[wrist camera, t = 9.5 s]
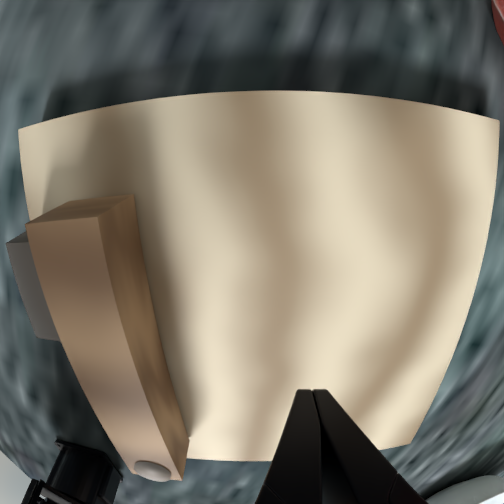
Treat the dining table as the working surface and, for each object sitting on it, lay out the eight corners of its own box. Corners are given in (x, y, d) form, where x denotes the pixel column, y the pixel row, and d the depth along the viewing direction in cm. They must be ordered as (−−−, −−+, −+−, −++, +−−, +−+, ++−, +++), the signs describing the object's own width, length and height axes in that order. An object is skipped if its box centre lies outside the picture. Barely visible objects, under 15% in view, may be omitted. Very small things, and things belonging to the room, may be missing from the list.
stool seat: (123, 430, 23) (107, 475, 18) (40, 127, 14) (-22, 135, 9) (403, 426, 22) (419, 471, 17) (477, 118, 13) (538, 125, 8)
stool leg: (190, 441, 19) (182, 484, 16) (144, 436, 20) (132, 476, 16) (134, 193, 13) (94, 218, 9) (70, 200, 13) (21, 225, 10)
